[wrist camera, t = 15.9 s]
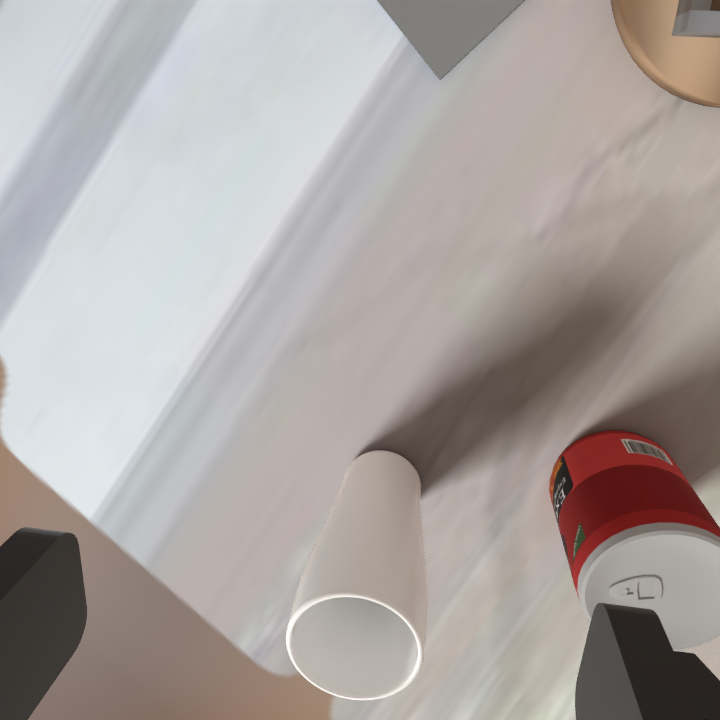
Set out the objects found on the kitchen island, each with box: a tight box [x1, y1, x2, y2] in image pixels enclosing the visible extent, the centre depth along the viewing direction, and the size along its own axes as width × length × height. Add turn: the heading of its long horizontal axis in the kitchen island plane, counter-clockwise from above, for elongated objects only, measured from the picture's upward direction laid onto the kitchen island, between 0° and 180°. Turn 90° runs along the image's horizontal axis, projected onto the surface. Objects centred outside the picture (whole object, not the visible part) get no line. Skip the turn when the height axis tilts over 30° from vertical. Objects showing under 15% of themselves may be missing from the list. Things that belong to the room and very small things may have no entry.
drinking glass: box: [286, 450, 428, 700], centre depth 37 cm, size 7×7×15 cm
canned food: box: [549, 431, 720, 651], centre depth 36 cm, size 8×8×11 cm
